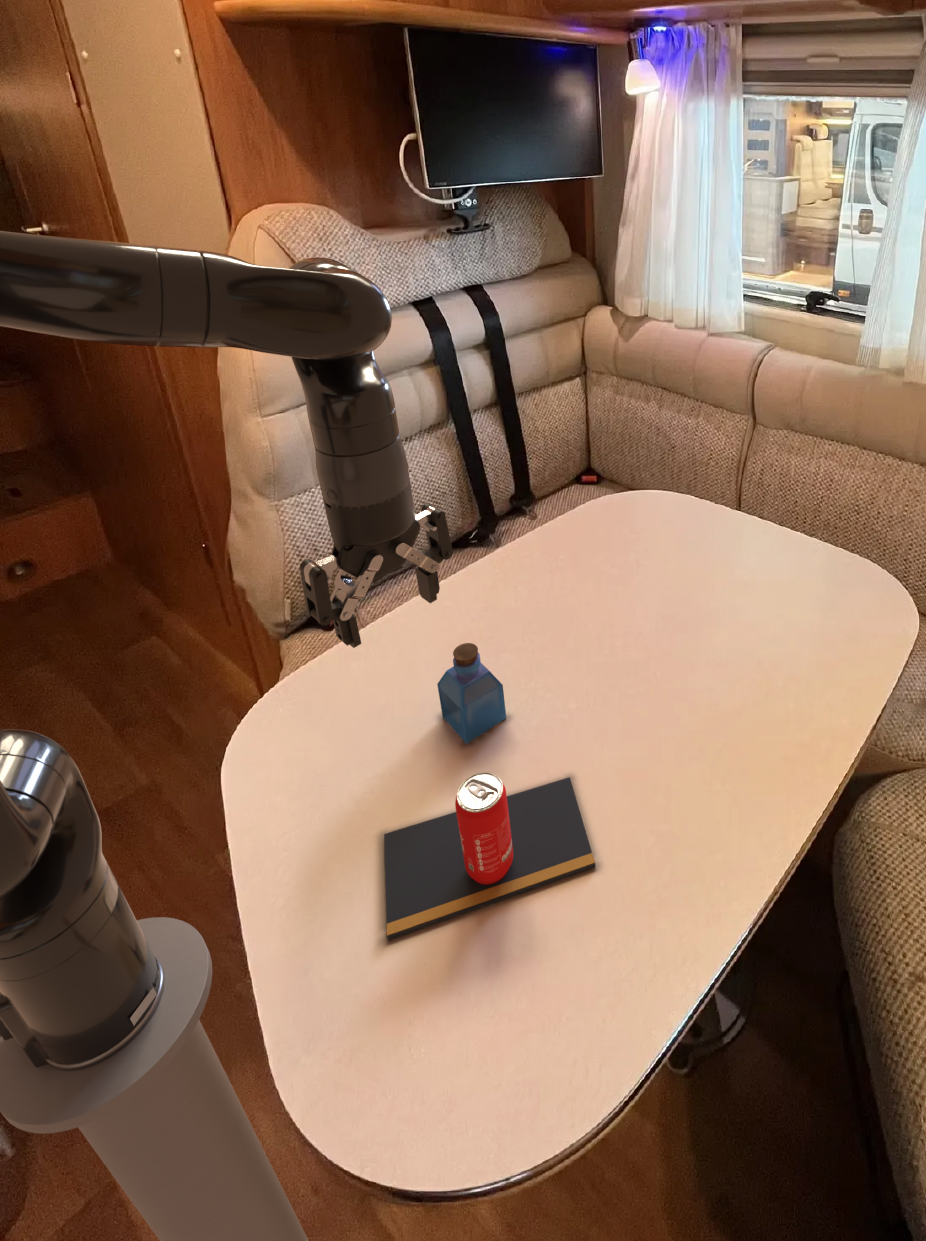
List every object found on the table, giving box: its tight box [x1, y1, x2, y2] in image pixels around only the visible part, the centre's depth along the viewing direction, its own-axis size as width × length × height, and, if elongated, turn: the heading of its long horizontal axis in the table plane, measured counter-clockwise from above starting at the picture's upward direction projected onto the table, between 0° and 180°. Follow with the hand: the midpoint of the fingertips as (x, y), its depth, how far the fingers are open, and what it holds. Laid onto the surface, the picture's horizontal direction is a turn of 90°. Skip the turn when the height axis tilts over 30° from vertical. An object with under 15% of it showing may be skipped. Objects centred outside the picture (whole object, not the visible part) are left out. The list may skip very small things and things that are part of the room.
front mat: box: [383, 776, 596, 941], centre depth 83 cm, size 22×12×1 cm, turn 111°
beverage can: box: [454, 771, 513, 885], centre depth 78 cm, size 5×5×12 cm
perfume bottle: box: [436, 642, 507, 745], centre depth 97 cm, size 6×6×12 cm
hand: (391, 619), depth 73 cm, fingers open, 8 cm apart
